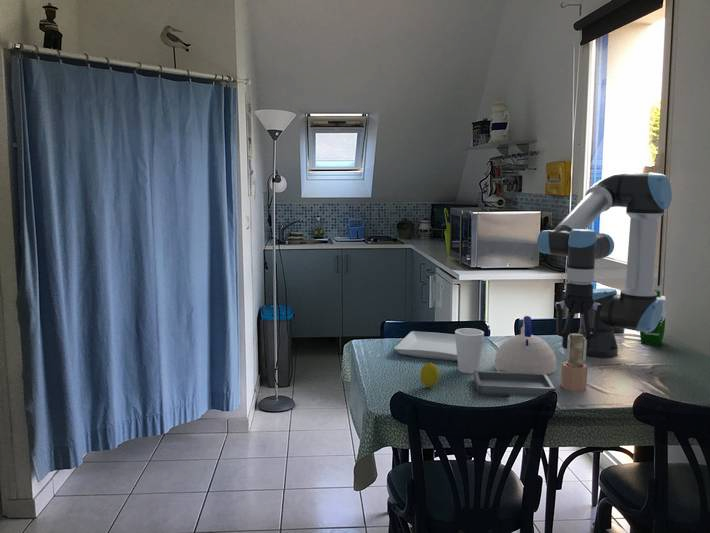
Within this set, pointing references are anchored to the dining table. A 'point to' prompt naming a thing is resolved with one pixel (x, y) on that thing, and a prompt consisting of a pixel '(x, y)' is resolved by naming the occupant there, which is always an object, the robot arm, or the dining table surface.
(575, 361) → the peg
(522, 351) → the kettle
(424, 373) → the lemon
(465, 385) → the dining table surface
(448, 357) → the square plate
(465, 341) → the foam cup
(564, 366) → the pink octagonal cup
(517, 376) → the tray
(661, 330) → the milk carton
